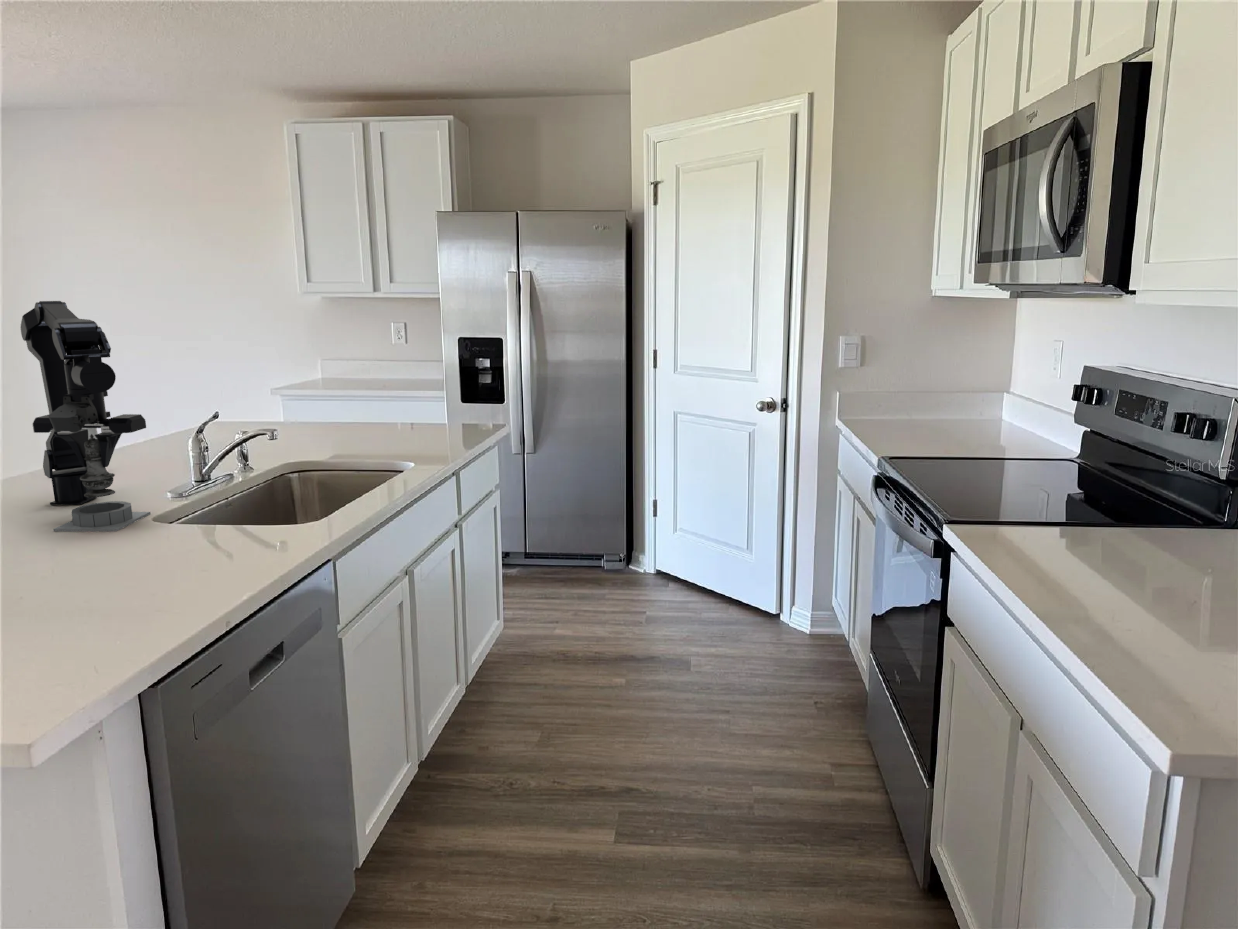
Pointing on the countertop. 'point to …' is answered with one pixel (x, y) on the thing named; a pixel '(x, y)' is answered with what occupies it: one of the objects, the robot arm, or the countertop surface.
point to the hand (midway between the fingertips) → (95, 466)
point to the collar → (102, 517)
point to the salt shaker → (96, 471)
